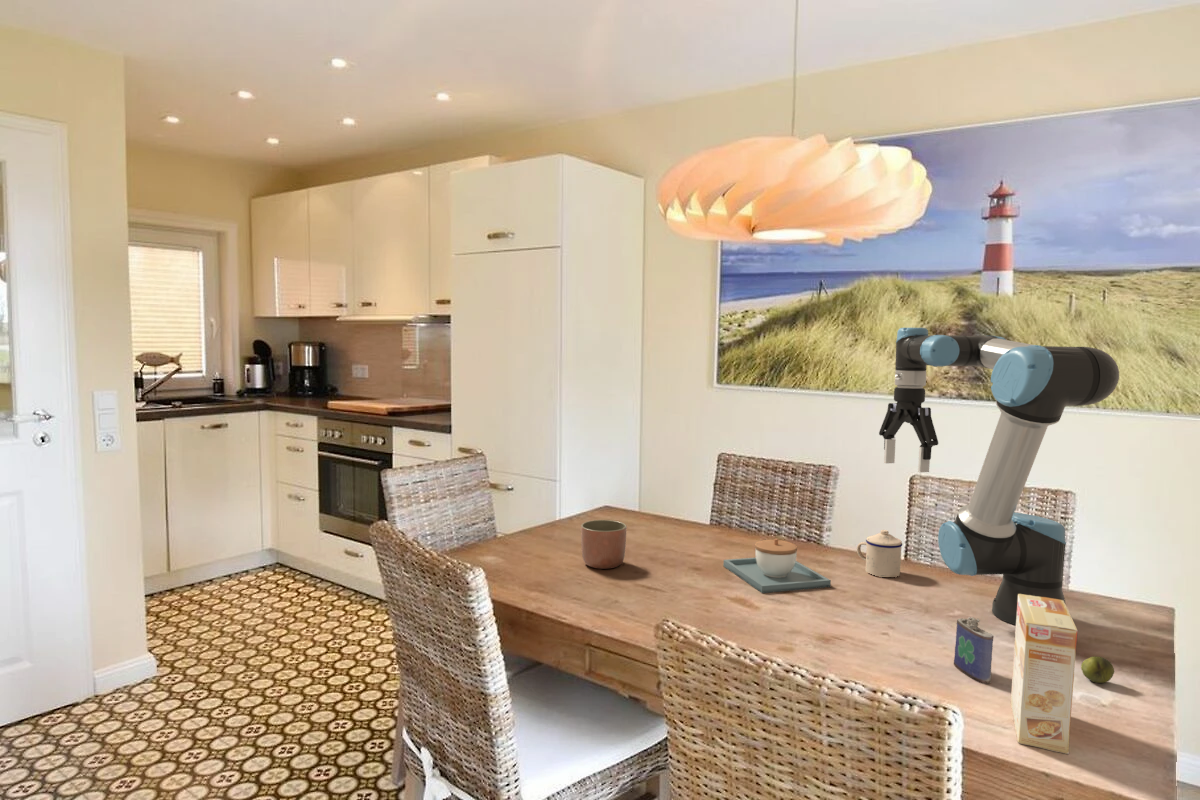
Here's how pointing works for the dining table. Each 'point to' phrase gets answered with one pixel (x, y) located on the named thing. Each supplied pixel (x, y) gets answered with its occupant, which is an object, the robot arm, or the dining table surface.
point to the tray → (794, 580)
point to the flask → (973, 650)
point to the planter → (603, 543)
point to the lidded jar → (775, 557)
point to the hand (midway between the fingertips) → (905, 467)
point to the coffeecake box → (1043, 672)
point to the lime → (1097, 669)
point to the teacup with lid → (882, 554)
